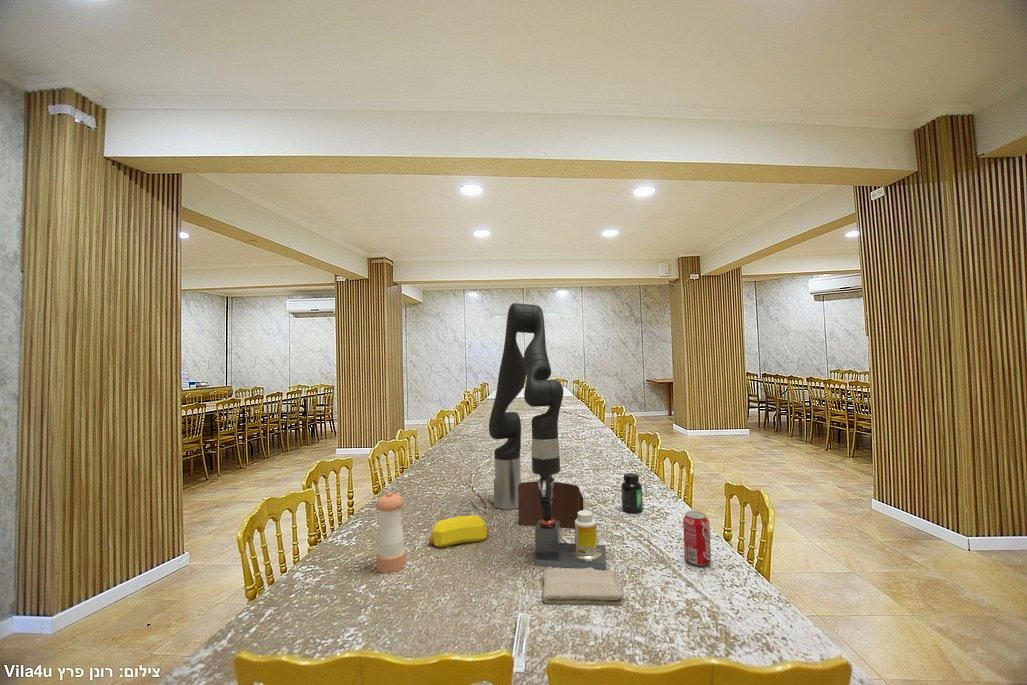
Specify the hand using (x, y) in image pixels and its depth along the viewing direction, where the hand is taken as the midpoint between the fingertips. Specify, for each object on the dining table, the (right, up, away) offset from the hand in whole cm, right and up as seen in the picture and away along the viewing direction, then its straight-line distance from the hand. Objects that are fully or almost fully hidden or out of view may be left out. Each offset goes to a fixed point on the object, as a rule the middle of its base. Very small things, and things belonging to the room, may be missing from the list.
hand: (547, 519), depth 121 cm
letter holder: (+3, -11, +25) cm, 27 cm away
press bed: (+6, -10, -2) cm, 12 cm away
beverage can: (+38, -9, -6) cm, 39 cm away
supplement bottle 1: (+10, -8, -2) cm, 13 cm away
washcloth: (+6, -10, -18) cm, 22 cm away
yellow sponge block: (-25, -11, +12) cm, 30 cm away
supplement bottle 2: (+31, -10, +32) cm, 46 cm away
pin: (0, -8, 0) cm, 8 cm away
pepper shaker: (-41, -11, -3) cm, 43 cm away
